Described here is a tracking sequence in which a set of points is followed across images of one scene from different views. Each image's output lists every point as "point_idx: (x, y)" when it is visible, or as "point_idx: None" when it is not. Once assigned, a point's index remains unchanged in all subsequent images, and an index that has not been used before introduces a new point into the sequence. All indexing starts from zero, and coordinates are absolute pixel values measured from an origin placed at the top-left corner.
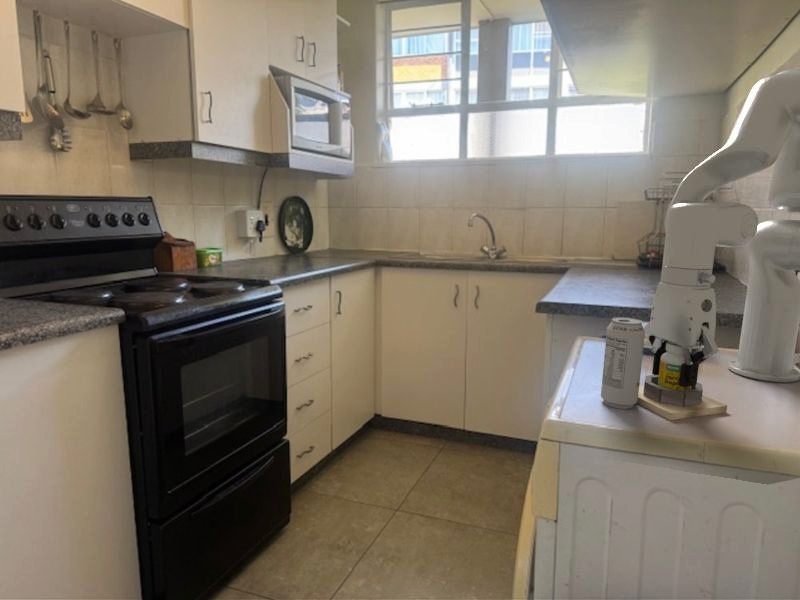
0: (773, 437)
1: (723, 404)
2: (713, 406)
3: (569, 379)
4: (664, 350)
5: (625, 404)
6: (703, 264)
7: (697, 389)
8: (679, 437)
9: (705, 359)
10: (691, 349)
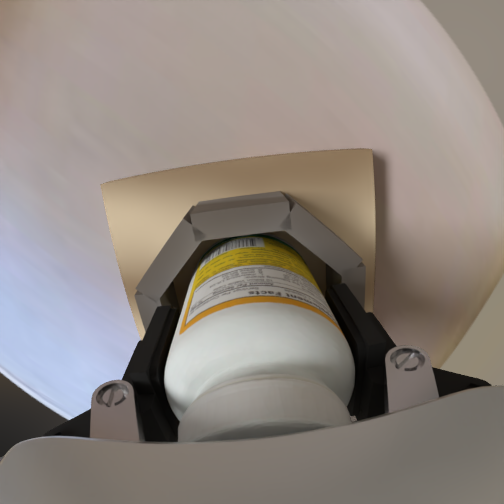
0: (496, 174)
1: (360, 153)
2: (368, 208)
3: (66, 414)
4: (160, 424)
5: None
6: None
7: (346, 272)
8: None
9: (459, 376)
10: (346, 416)
